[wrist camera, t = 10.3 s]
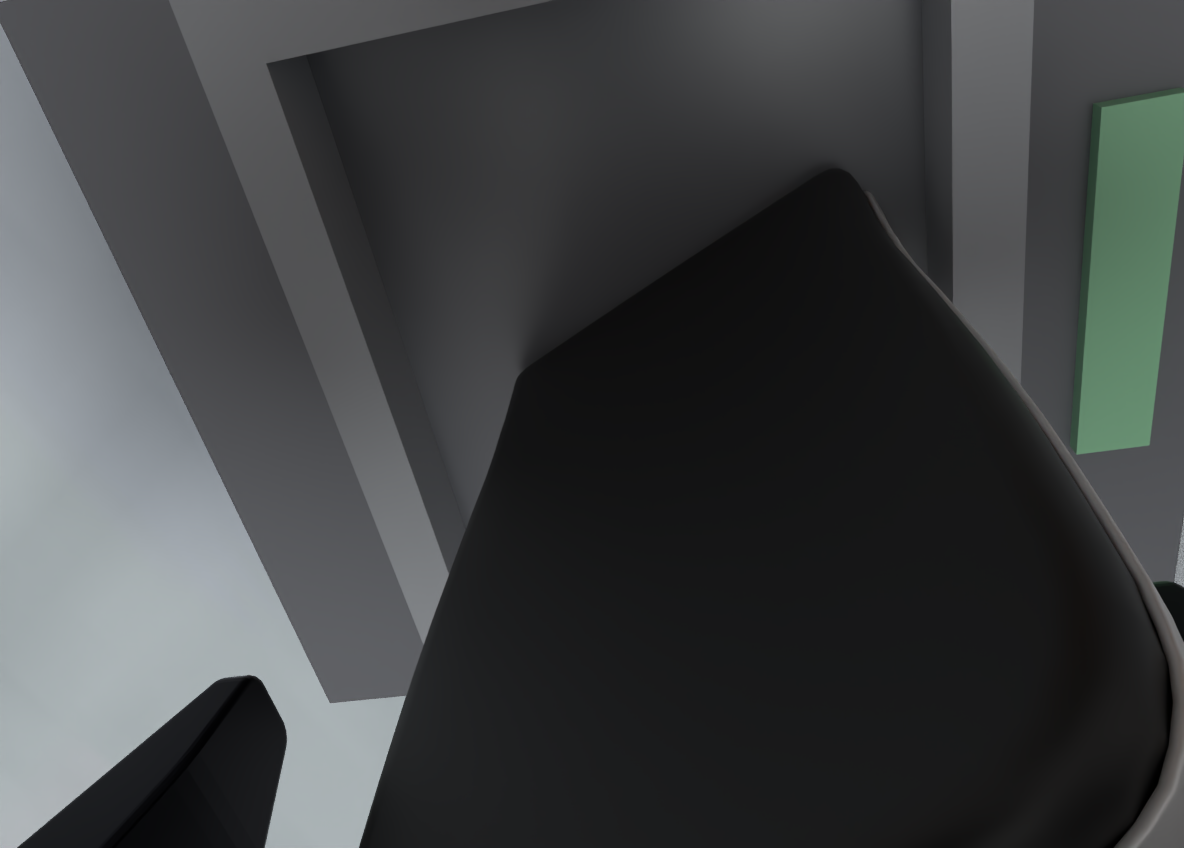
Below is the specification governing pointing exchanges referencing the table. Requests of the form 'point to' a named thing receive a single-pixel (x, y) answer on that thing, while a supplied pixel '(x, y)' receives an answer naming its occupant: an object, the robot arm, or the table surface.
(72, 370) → the table surface
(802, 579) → the battery charger
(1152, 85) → the charging dock
